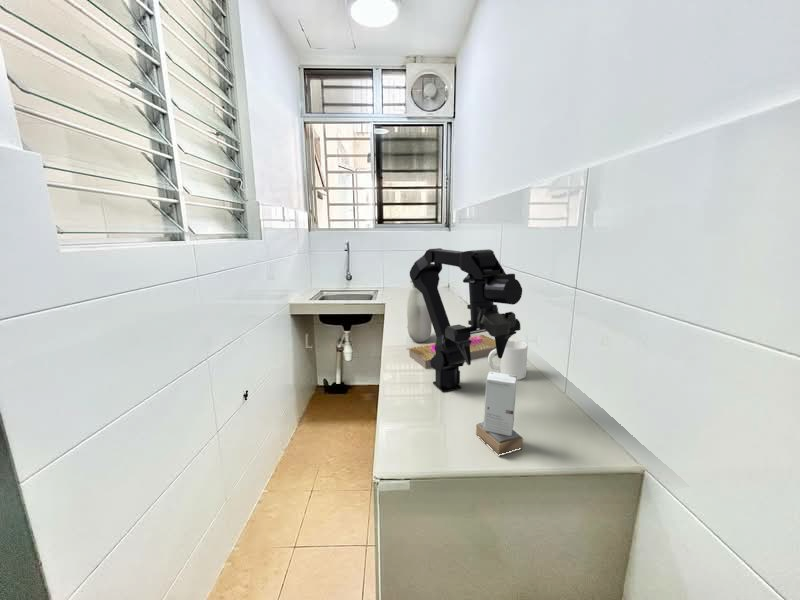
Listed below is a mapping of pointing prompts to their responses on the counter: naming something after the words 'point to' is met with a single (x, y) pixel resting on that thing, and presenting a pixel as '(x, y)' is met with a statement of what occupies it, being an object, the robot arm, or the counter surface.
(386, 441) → the counter surface
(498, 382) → the skincare box
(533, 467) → the counter surface
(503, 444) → the block
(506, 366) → the mug
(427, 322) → the glass bottle
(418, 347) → the rafter model
